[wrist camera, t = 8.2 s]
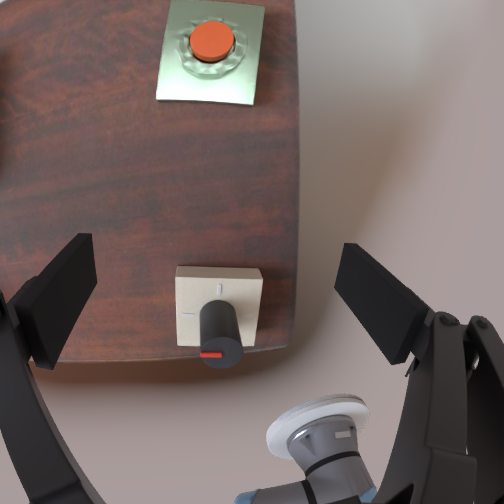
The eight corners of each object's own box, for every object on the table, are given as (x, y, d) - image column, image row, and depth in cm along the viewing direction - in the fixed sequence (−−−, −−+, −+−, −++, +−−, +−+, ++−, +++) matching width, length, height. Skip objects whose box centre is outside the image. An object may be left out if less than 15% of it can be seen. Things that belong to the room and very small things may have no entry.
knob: (237, 300, 35) (245, 338, 28) (234, 329, 37) (242, 370, 30) (199, 299, 34) (200, 338, 27) (199, 329, 36) (200, 370, 29)
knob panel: (250, 332, 41) (254, 346, 38) (178, 331, 39) (177, 346, 36) (258, 268, 37) (263, 279, 34) (177, 265, 35) (175, 277, 33)
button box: (250, 107, 30) (256, 103, 26) (158, 101, 28) (152, 97, 24) (261, 13, 25) (268, 0, 22) (172, 7, 23) (169, -7, 20)
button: (229, 63, 24) (231, 59, 23) (188, 60, 24) (187, 56, 22) (234, 28, 23) (236, 22, 21) (193, 25, 22) (193, 19, 21)
